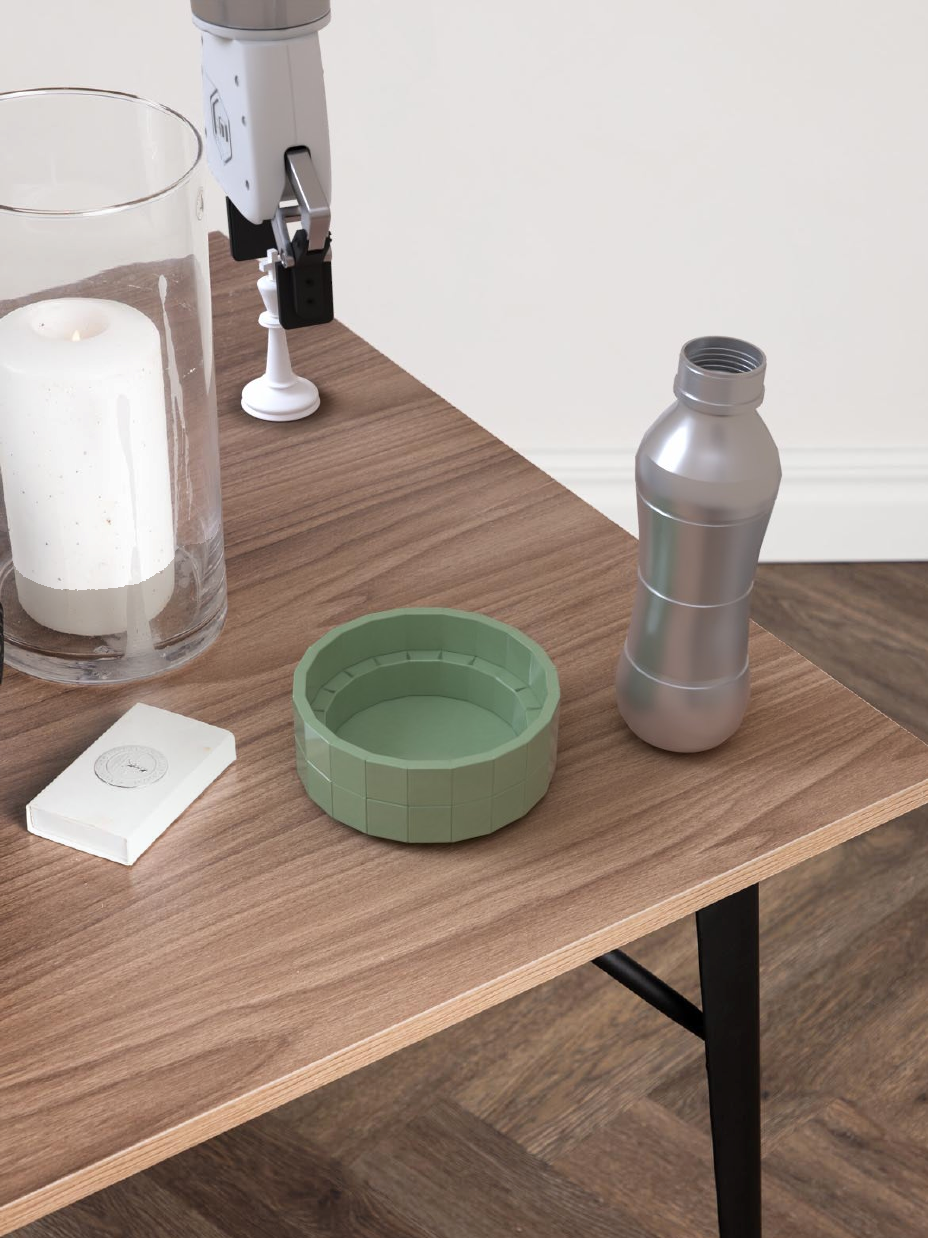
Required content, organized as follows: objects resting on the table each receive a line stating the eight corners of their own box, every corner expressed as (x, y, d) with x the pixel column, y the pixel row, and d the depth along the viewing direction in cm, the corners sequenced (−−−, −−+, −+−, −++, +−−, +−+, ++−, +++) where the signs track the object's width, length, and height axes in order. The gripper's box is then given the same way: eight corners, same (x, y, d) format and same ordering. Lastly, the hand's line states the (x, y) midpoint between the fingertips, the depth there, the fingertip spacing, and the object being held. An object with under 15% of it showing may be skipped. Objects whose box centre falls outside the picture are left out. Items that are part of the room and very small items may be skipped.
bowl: (260, 823, 78) (253, 738, 75) (345, 670, 87) (343, 588, 84) (518, 876, 76) (523, 791, 73) (578, 714, 85) (585, 632, 82)
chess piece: (225, 399, 108) (213, 246, 101) (289, 376, 111) (281, 226, 104) (271, 429, 105) (262, 275, 99) (335, 406, 108) (330, 254, 101)
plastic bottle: (689, 788, 81) (742, 409, 68) (582, 725, 85) (613, 351, 71) (770, 729, 85) (834, 358, 72) (664, 670, 88) (707, 306, 75)
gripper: (150, -49, 97) (182, 241, 108) (239, 49, 85) (264, 364, 96) (277, -61, 99) (295, 224, 110) (381, 33, 87) (389, 342, 99)
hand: (281, 289), depth 103 cm, fingers open, 9 cm apart
